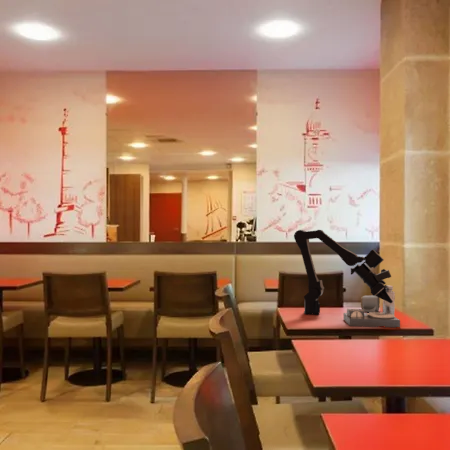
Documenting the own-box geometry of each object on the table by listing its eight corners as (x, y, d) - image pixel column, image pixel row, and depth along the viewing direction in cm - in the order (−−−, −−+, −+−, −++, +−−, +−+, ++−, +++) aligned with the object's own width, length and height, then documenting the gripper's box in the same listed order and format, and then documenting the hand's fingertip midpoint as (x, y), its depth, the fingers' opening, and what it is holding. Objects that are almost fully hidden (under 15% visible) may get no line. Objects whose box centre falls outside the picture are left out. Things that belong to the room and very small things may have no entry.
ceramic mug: (362, 309, 251) (362, 293, 251) (379, 310, 248) (379, 294, 248) (359, 312, 241) (359, 296, 241) (377, 313, 238) (377, 297, 238)
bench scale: (349, 326, 204) (349, 312, 204) (343, 319, 219) (343, 306, 219) (400, 327, 203) (400, 313, 203) (390, 321, 218) (390, 308, 218)
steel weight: (384, 317, 220) (384, 286, 220) (381, 315, 225) (382, 285, 225) (395, 317, 220) (396, 286, 220) (392, 315, 225) (393, 285, 225)
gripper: (379, 264, 215) (406, 292, 212) (381, 262, 233) (405, 287, 229) (360, 281, 218) (386, 309, 214) (363, 278, 236) (387, 303, 232)
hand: (392, 301), depth 222 cm, fingers closed on steel weight, 5 cm apart
